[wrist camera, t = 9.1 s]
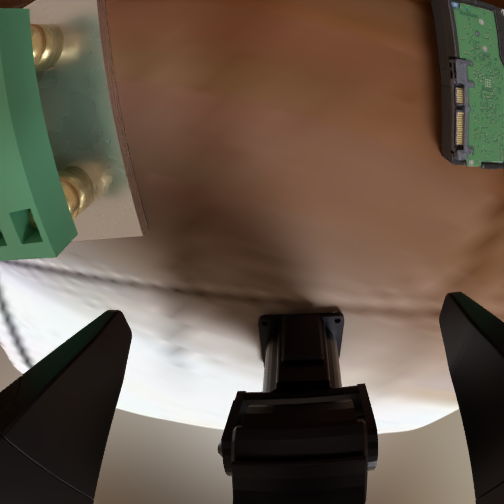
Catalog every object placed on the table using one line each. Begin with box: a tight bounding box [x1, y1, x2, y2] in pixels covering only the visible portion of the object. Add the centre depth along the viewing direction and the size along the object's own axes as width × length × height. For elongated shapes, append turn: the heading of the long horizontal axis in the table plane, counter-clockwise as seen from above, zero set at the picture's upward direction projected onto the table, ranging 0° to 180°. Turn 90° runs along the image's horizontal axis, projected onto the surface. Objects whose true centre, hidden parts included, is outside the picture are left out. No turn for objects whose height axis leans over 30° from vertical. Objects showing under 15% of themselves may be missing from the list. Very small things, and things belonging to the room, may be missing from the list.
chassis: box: [0, 0, 148, 242], centre depth 15 cm, size 18×12×6 cm, turn 6°
